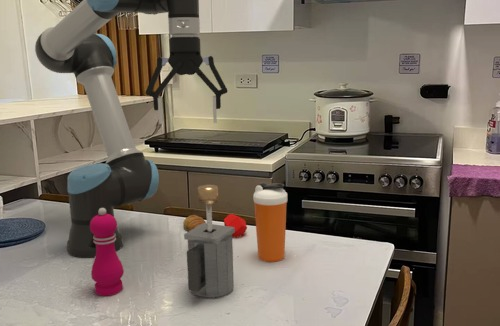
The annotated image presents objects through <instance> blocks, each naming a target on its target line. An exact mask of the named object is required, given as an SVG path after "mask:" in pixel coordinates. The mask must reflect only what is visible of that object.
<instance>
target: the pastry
mask: <svg viewBox="0 0 500 326" xmlns="http://www.w3.org/2000/svg"><path fill="white" fill-rule="evenodd" d="M202 223H207V221H206V220H205V219H204V218H203V217H201V216H198V215H197V214H192V215H188V216H187V217H186V218H185V219H184V220H183V226H182V227H183V228H184V230H186V231H187V232H188V231H190V230H192V229H194V228H196V227H197V226H199V225H201V224H202Z"/></svg>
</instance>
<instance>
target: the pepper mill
mask: <svg viewBox="0 0 500 326" xmlns="http://www.w3.org/2000/svg"><path fill="white" fill-rule="evenodd" d="M98 213H99V215H96V216H95V217H94V218H92V220H91V222H90V230H91V232H92V233H93V234H94V236H93V239H94V241H93V242H94V243H95V244H96V257H94V261H93V263H92V266H91V267H92V268H91V278H92V279H91V280H93V281H94V282H95V284H94V292H95V294H96V295H98V296H102V297H103V296H105V297H107V296H115V295H116V294H118V293H119V294H120V292H122V290H123V288H124V286H123V284H124V283H123V280H122V277H123V275H124V267H123V263H122V260H120V258H119V256H118V254H117V251H115V246H114V241H115V240H116V237H115V236H116V234H115V233H114V232H115V231H116V229H117V227H118V221H117V218H116V217H115V216H114V217H113V216H112V215H110V214H106V209H105V208H100V209H99V211H98Z"/></svg>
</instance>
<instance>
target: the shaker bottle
mask: <svg viewBox="0 0 500 326" xmlns="http://www.w3.org/2000/svg"><path fill="white" fill-rule="evenodd" d="M284 187H285V184H284V183H278V182H276V183H275V182H273V183H267V182H266V181H265V182H264V181H262V182H260V183H258V185H256V187H254V188H255V191H254V193H253V195H252V197H253V200H252V201H253V203H254V215H255V216H254V217H255V231H256V243H257V257H258V259H259V260H261V261H263V262H266V263H267V262H269V263H273V262H280V261H281V260H284V259H285V257H286V256H285V253H286V232H287V231H286V230H287V227H286V226H287V225H286V223H287V206H288V205H287V203H288V192H286V189H284Z"/></svg>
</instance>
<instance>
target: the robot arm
mask: <svg viewBox="0 0 500 326" xmlns="http://www.w3.org/2000/svg"><path fill="white" fill-rule="evenodd" d="M199 1H200V0H82V1H81V2H80V3H78V4H77V5H76V6H75V7H74V8H73V9H72V10H71V11H70V12H68V13H67V14H66V16H64V17H63V18H62V19H61V20H60V21H59V22H58V23H57V24H56V25H55V26H53V27H48V28H45V30H44V31H43V32H42V33H40V34H39V36H38V37H37V39H36V42H35V48H34V50H35V51H34V52H35V56H36V58H37V60H38V61H39V63H40V64H41V65H42V66H43V67H44V68H46V69H47V70H49V71H50V72H54V73H56V74H74V77H75V81H76V82H77V83H78V84H81V85H83V88H84V91H85V93H86V96H87V100H88V102H89V104H90V108H91V112H92V113H93V114H92V115H93V117H94V120H95V124H96V127H97V129H98V132H99V134H100V138H101V140H102V144H103V147H104V149H105V152H106V156H107V160H106V162H105V163H102V162H101V163H100V162H99V163H94V164H92V163H91V164H86V165H83V166H80V167H78V168H75V169H73V170H72V171H70V172H69V173H68V175H67V193H68V204H69V212H70V222H71V223H70V229H69V234H68V235H69V236H68V240H67V241H66V250H67V253H68V254H69V255H70V256H73V257H78V258H95V257H96V244H95V243H94V242H93V241H94V239H93V236H94V234H93V233H92V232H91V230H90V222H91V220H92V218H94V217H95V216H96V215H99V213H98V211H99V209H100V208H105V209H106V214H110V215H112V216H113V217H114V218H115V212H114V208H117V207H121V206H125V205H129V204H134V203H136V202H142V201H145V200H147V199H149V198H152V197H153V196H154V195H155V194H156V193H157V190H158V187H159V183H160V176H159V170H158V167H157V165H156V163H154V162H153V161H152V160H151V159H147V158H146V157H145V154H144V152H143V151H141V150H140V149H137V147H136V145H135V141H134V139H133V136H132V132H131V130H130V128H129V125H128V122H127V120H126V119H127V118H126V116H125V113H124V110H123V107H122V103H121V101H120V99H119V95H118V93H117V89H116V87H115V84H114V81H113V78H112V76H114V73H115V68H116V66H117V63H118V59H117V49H116V47H115V45H114V43H113V41H112V40H111V39H110V38H109V37H108V36H106V35H104V34H101V33H96V32H97V31H98V30H100V29H101V28H102V27H104V26H105V25H106V24H107V23H108V22H110V21H111V20H112V19H113V18H115V17H116V16H118V14H120V13H137V14H138V13H140V14H141V13H142V14H145V15H157V14H165V13H167V14H168V15H167V20H168V23H167V24H168V34H169V36H170V38H169V39H168V42H169V44H168V45H169V57H162V56H158V57H157V59H156V67H155V69H154V72H153V73H152V76H151V78H150V81H149V83H148V85H147V87H146V90H145V95H147V96H150V97H152V99H153V101H152V102H153V110H154V111H157V112H158V125H163V124H164V112H163V109H164V108H163V97H162V96H160V94H161V93H162V92H163V91H164V90H165V88H166V87H167V86H168V84H169V83H170V82H171V80H172V79H173V78H174V77H175V75H176V74H177V75H179V76H185V75H188V76H193V75H195V74H196V75H197V76H198V77H199V78H200V79H201V80H202V81H203V82H204V84H205V85H206V86H207V87H208V88H209V89H210V90H211V91H212V93H214V94H215V95H213V96H212V108H213V109H212V112H213V113H212V114H213V117H212V118H213V119H212V120H213V123H217V120H218V119H217V110H218V109H219V110H220V109H221V107H222V105H221V104H222V103H221V102H222V100H221V97H222V96H223V95H225V94H227V93H228V88H227V87H226V84H225V83H224V81H223V79H222V77H221V75H220V73H219V71H218V69H217V67H216V66H215V60H214V56H212V55H210V56H205V57H203V56H202V54H201V52H202V51H201V38H200V37H198V35H200V34H201V31H200V29H201V27H200V24H201V23H200V4H199V3H200V2H199ZM203 62H204V63H205V65H206V66H209V68H210V70H211V73H212V74H213V77H214V78H215V80H216V82H217V84H218V85H219V88H220V89H218V88H217V86H216V85H215V84H214V83H213V82H212V80H210V79H209V78H208V77H207V75H206V74H205V73H204V72H203V70H201V69H200V67H201V65H202V64H203ZM167 63H168V64H169V65H170V67H171V68H172V69H171V70H170V72H169V73H168V74H167V76H166V77H165V78H164V79H163V80H162V82H161V83H160V85H159V86H158V87H157V88H156V90H155V91H154V88H155V85H156V83H157V81H158V78H159V76H160V74H161V72H162V69H163V67H165V66H166V65H167ZM114 233H115V234H116V236H115V237H116V240H115V241H114V246H115V251H116V252H118V251H119V250H120V249H121V248H123V236H122V234H121V233H120V232H119V228H118V226H117V229H116V231H115V232H114Z"/></svg>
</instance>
